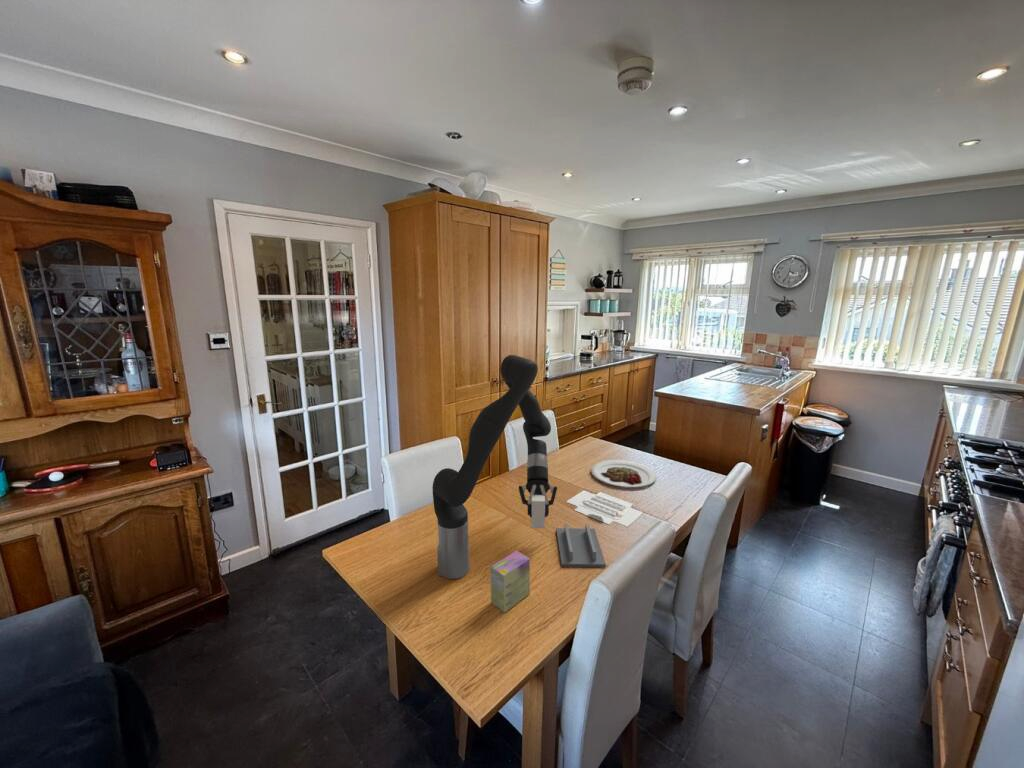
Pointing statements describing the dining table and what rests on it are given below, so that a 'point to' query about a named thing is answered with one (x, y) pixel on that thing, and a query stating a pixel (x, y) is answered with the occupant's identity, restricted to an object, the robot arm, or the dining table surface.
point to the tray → (605, 508)
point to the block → (538, 511)
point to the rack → (579, 547)
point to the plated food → (623, 473)
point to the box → (510, 580)
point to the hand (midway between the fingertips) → (538, 516)
